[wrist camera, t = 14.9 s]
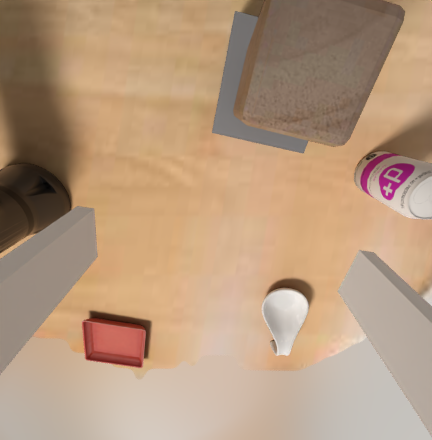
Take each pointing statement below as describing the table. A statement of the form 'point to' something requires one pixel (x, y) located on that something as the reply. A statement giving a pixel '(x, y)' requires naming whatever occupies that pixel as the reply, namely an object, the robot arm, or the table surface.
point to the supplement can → (397, 183)
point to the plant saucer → (114, 342)
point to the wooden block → (315, 66)
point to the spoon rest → (284, 317)
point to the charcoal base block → (229, 87)
